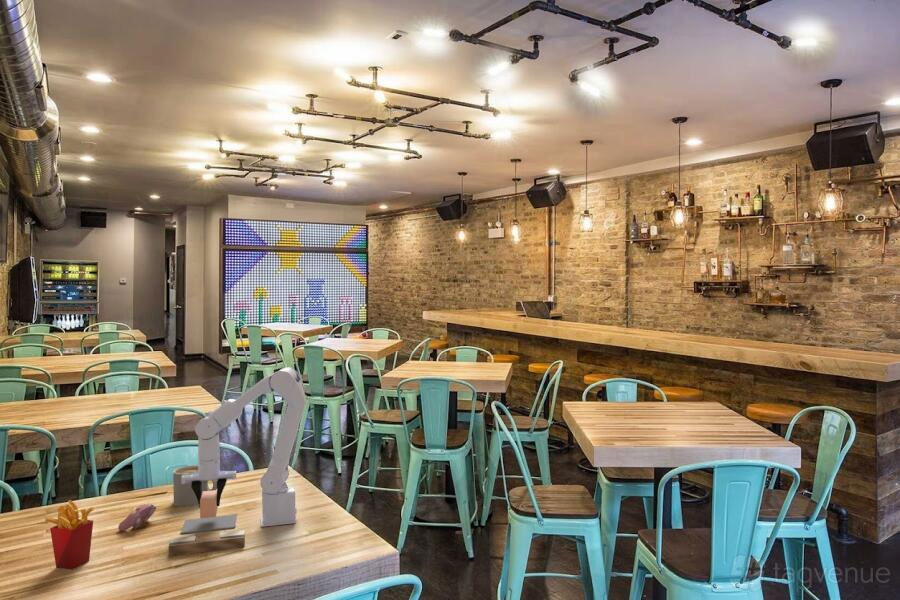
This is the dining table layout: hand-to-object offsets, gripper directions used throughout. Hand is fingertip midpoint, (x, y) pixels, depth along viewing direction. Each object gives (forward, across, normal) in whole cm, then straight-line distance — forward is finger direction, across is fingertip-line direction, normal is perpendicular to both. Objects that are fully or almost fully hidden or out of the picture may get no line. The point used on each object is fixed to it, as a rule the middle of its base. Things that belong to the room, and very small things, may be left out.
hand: (209, 505), depth 174 cm
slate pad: (+5, 0, +1) cm, 5 cm away
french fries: (+5, +31, +18) cm, 36 cm away
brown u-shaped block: (+5, -1, +17) cm, 18 cm away
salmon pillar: (+2, 0, +1) cm, 2 cm away
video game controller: (+5, +19, -5) cm, 21 cm away
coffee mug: (+5, +6, -21) cm, 22 cm away
